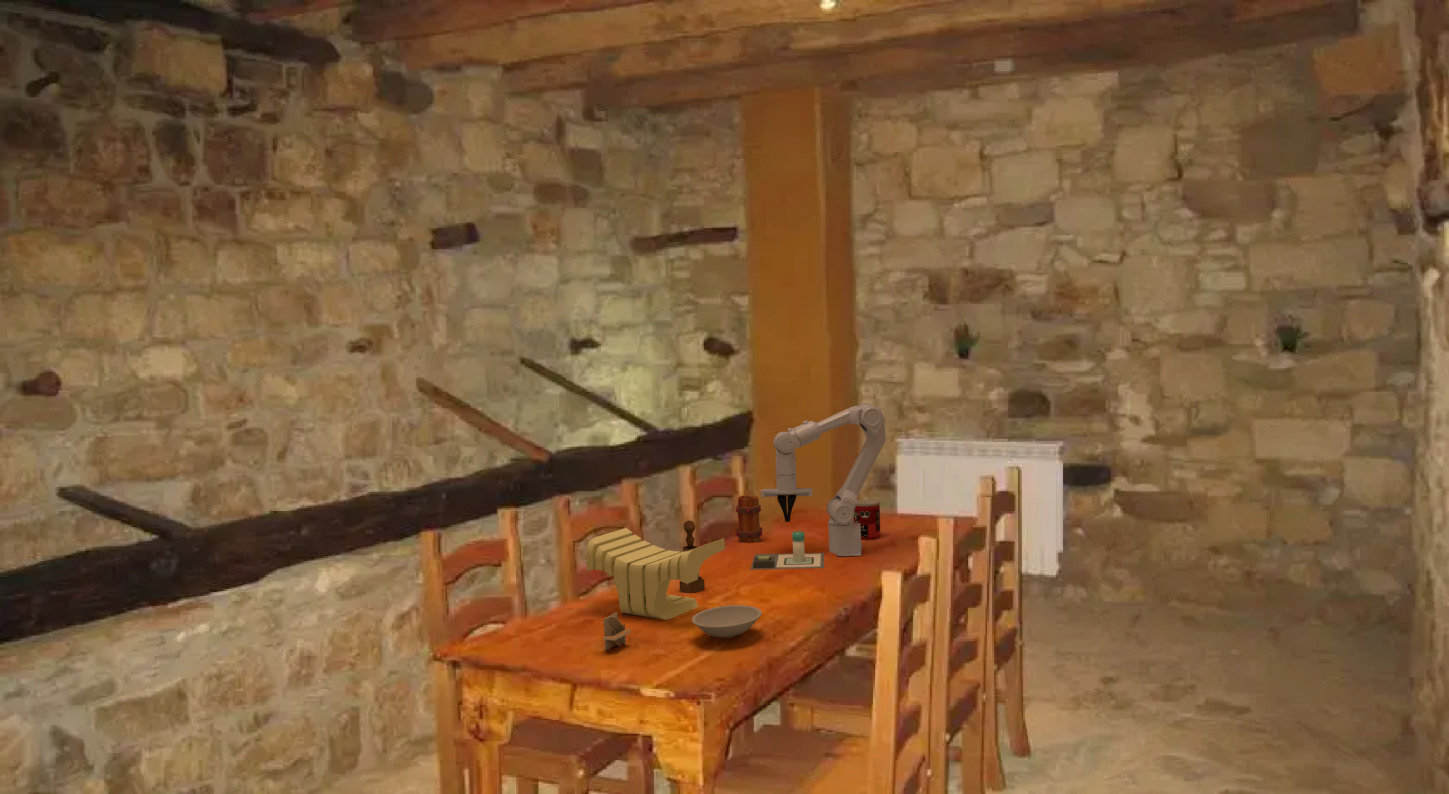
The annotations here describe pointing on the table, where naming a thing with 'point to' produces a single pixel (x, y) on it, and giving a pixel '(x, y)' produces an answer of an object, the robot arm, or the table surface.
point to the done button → (764, 558)
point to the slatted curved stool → (647, 572)
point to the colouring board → (788, 561)
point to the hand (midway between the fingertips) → (787, 521)
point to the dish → (726, 620)
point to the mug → (748, 518)
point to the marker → (798, 546)
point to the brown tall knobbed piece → (689, 528)
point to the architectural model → (614, 631)
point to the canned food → (868, 518)
